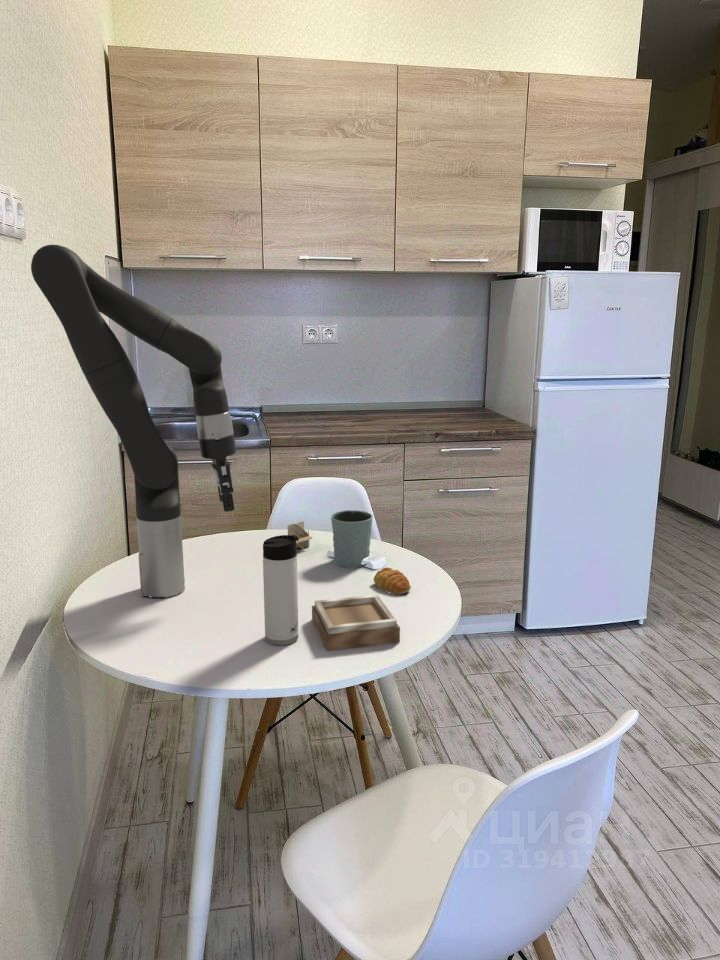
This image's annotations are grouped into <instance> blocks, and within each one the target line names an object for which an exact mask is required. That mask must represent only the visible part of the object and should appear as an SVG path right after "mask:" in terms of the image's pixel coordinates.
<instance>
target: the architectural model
mask: <svg viewBox="0 0 720 960" xmlns="http://www.w3.org/2000/svg"><path fill="white" fill-rule="evenodd" d="M287 535H291V536H292V535H297V537H298V539H299V541H296V547H297V549H302V550H305V548H310V540H312V539H313V536H310V531H309V530H307V531H306V530H305V520H301V521H298V522H297V521H296V522H294V523H291V524H287Z"/></svg>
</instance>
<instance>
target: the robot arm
mask: <svg viewBox="0 0 720 960" xmlns="http://www.w3.org/2000/svg"><path fill="white" fill-rule="evenodd" d="M30 270H31V277H32V278H33V280H34V282H35V284H36V285H37V287H38V288H39V290H40V291H41V292H42V294H43V295H44V297H45V299H46V300H47V302H48V303H49V305H50V307H51V308H52V310H53V311H54V313H55V314H56V316H57V317H58V319H59V321H60V323H61V325H62V327H63V329H64V332H65V335H66V336H67V339H68V342H69V344H70V346H71V349H72V352H73V354H74V356H75V358H76V361H77V363H78V365H79V367H80V369H81V371H82V374H83V376H84V377H85V380H86V382H87V383H88V385H89V387H90V390H91V391H92V392H93V394H94V396H95V398H96V400H97V402H98V403H99V405H100V407H101V408H102V410H103V412H104V413H105V415H106V417H107V418H108V420H109V421H110V423H111V424H112V426H113V427H114V429H115V430H116V432H117V435H118V436H119V439H120V440H121V443H122V446H123V448H124V450H125V453H126V455H127V458H128V461H129V463H130V464H129V465H130V466H131V469H132V472H133V478H134V492H135V495H134V497H135V513H136V516H135V517H136V525H137V527H136V528H137V539H138V540H137V541H138V542H137V543H138V568H139V569H138V571H139V581H140V582H139V584H140V595H141V596H151V597H150V598H152V597H165V598H170V596H171V597H174V595H175V596H177V595H179V593H180V594H181V593H183V592H184V591H185V588H186V586H185V585H186V584H185V581H186V580H185V568H184V567H185V565H184V563H185V562H184V548H183V534H182V533H183V532H182V531H183V530H182V529H183V528H182V512H181V511H182V510H181V509H182V508H181V496H180V481H179V476H180V475H179V461H178V459H179V458H178V456H177V453H176V451H175V450H174V448H173V446H171V445H170V444H168V443H167V442H165V440H164V438H163V437H162V435H161V434H160V432H159V430H158V428H157V426H156V424H155V423H154V420H153V418H152V416H151V414H150V413H151V412H150V410H149V407H148V404H147V400H146V397H145V395H144V391H143V387H142V385H141V383H140V381H139V377H138V375H137V373H136V370H135V369H134V367H133V364H132V362H131V360H130V358H129V357H128V355H127V352H126V351H125V349H124V348H123V346H122V344H121V342H120V341H119V339H118V337H117V336H116V334H115V333H114V332H113V330H112V329H111V327H110V325H109V324H108V323H107V321H106V320H105V319H104V317H103V316H102V315H104V316H106V318H108V319H110V320H112V321H113V322H114V323H115V324H117V325H119V327H121V328H123V329H124V330H125V331H127V332H129V333H130V334H132V335H133V336H134V337H136V338H137V339H140V340H141V341H143V342H145V343H147V344H148V345H150V346H151V347H153V348H155V349H157V350H158V351H160V352H162V353H165V354H167V355H169V356H170V357H172V358H173V359H175V360H176V361H177V362H179V363H181V364H182V365H184V366H185V367H186V368H188V373H189V377H190V381H191V386H192V397H193V405H194V412H195V419H196V420H195V421H196V422H195V424H196V431H197V432H196V433H197V437H198V442H199V443H198V444H199V449H200V456H201V457H202V458H203V459H207V460H211V461H212V463H211V464H210V468H211V472H212V476H213V480H214V481H215V485H216V487H217V491H218V497H219V501H220V502H221V503H222V507H223V511H224V512H226V513H227V512H232V511H234V510H235V505H234V503H235V502H234V498H233V497H234V496H233V493H234V487H233V476H232V475H233V474H232V466H231V463H230V461H229V460H228V461H227V457H231V456H233V455H235V454H236V453H237V447H236V446H237V445H236V440H235V434H234V427H233V421H232V416H231V414H230V407H229V402H228V401H229V400H228V395H227V392H226V388H225V386H224V381H223V371H222V360H223V356H222V353H221V350H220V348H219V347H218V345H217V344H215V343H214V342H213V341H210V340H208V339H207V338H205V337H204V336H201V335H199V333H196V332H194V331H192V330H190V329H189V328H186V327H185V326H184V325H182V324H181V323H180V322H179V321H177V320H176V319H175V318H173V317H171V316H169V315H168V314H166V313H164V312H163V311H162V310H160V309H159V308H157V307H154V306H152V305H151V304H149V303H147V302H145V301H143V300H142V299H141V298H138V297H136V296H135V295H133V294H131V293H129V292H127V291H126V290H123V289H122V288H120V287H118V286H117V285H115V284H114V283H112V282H110V281H108V280H107V279H106V278H104V277H103V276H102V275H100V274H99V273H98V272H97V271H95V270H94V269H93V268H92V267H90V266H89V265H88V264H87V263H86V262H85V261H84V260H82V258H81V257H80V256H79V255H78V253H76V252H75V251H74V250H71V249H70V248H69V247H66V246H62V245H60V244H46V245H44V246H41V247H40V248H38V249H37V251H36V252H35V253H34V254H33V256H32V259H31V264H30ZM141 596H140V597H141Z"/></svg>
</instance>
